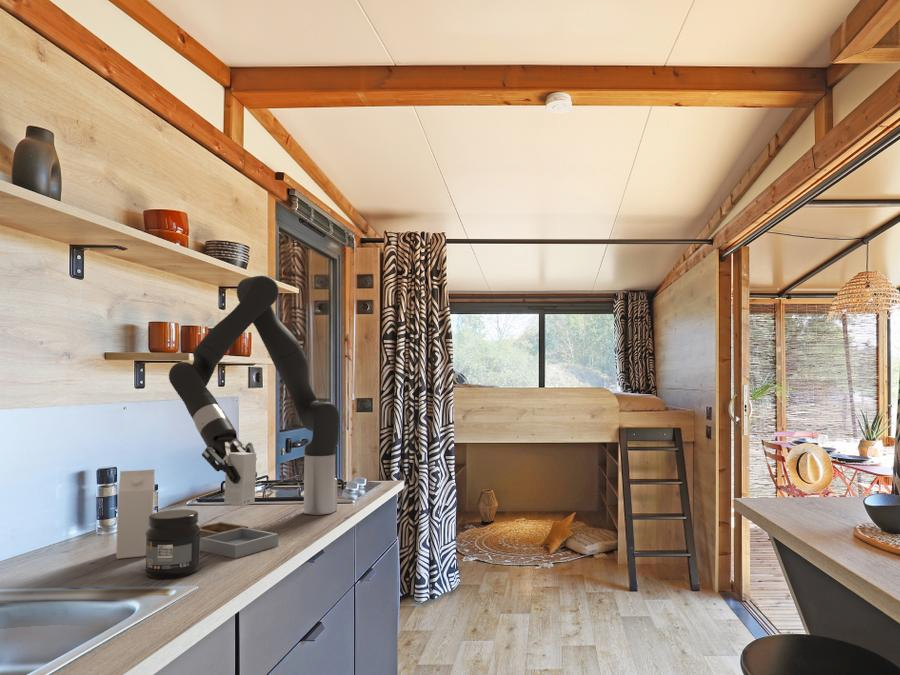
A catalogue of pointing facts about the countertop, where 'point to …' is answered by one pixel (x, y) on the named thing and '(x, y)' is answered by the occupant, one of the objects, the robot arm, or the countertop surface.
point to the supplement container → (172, 544)
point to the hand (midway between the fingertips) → (245, 479)
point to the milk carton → (134, 512)
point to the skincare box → (241, 480)
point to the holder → (218, 528)
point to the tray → (238, 542)
